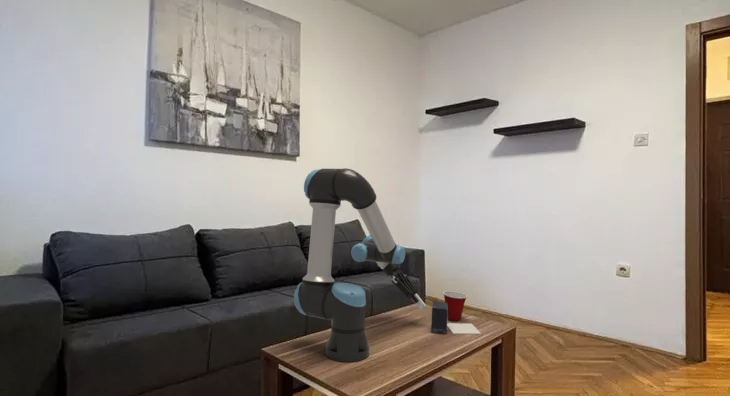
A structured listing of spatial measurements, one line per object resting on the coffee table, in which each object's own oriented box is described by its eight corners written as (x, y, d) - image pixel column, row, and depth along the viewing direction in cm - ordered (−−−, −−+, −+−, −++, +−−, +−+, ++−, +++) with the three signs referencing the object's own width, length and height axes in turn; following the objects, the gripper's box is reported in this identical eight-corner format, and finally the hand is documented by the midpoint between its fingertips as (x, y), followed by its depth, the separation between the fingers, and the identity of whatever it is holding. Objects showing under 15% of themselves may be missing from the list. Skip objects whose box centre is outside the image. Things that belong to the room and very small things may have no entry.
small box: (447, 334, 167) (447, 308, 167) (430, 333, 168) (431, 307, 168) (447, 326, 177) (447, 302, 177) (431, 325, 179) (432, 301, 178)
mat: (452, 333, 168) (452, 333, 168) (445, 323, 181) (445, 323, 181) (481, 334, 168) (481, 333, 168) (471, 324, 181) (471, 323, 181)
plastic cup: (465, 324, 180) (466, 297, 180) (440, 322, 184) (441, 294, 184) (467, 318, 191) (468, 291, 191) (443, 315, 194) (444, 289, 194)
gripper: (389, 267, 191) (422, 309, 183) (376, 272, 179) (411, 317, 172) (400, 257, 188) (434, 299, 181) (388, 261, 177) (424, 306, 169)
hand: (423, 307), depth 176 cm, fingers closed
